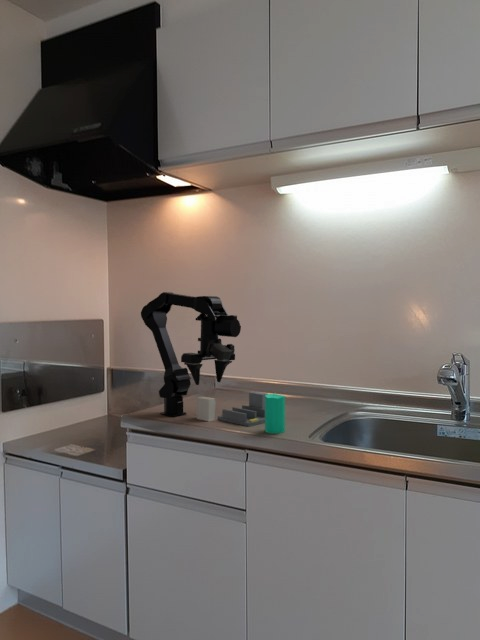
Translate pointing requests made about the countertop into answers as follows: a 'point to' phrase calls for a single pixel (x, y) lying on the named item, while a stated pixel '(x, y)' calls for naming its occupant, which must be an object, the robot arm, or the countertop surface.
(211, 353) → the robot arm
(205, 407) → the block
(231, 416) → the rack
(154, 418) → the countertop surface
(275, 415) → the candle
